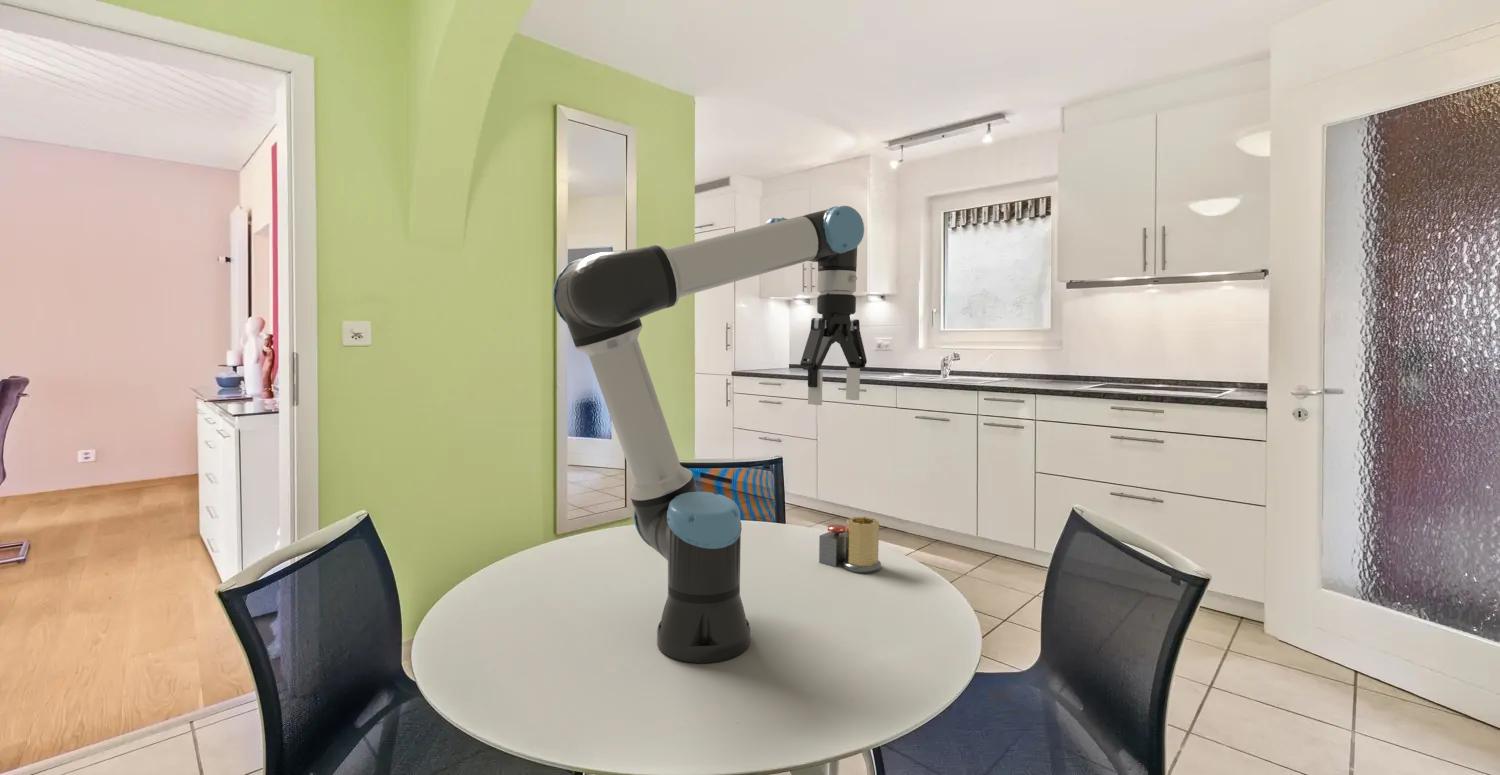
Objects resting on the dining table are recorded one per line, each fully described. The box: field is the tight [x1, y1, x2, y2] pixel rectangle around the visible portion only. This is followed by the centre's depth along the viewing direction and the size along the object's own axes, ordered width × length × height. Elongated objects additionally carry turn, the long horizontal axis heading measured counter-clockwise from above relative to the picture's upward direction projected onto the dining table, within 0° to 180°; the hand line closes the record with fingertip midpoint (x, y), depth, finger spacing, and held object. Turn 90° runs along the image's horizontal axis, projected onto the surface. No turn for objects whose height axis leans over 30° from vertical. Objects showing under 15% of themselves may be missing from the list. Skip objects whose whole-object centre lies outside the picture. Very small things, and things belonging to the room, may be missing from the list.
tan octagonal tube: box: [845, 516, 880, 567], centre depth 147 cm, size 6×6×9 cm
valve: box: [818, 523, 882, 575], centre depth 148 cm, size 8×13×8 cm, turn 50°
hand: (834, 402), depth 135 cm, fingers open, 13 cm apart
